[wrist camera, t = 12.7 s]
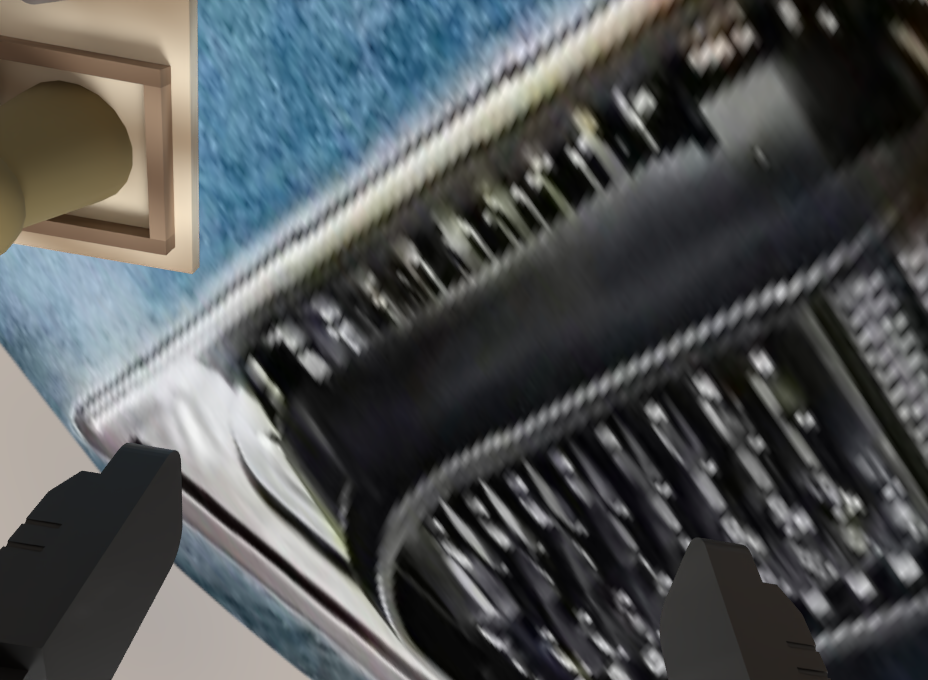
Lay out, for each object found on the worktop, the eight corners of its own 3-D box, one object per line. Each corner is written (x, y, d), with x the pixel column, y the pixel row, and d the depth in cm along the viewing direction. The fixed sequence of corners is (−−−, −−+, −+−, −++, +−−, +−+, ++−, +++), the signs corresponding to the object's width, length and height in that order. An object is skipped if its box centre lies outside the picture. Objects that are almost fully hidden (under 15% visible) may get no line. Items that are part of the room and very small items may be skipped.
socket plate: (-53, -107, 32) (-120, -113, 29) (196, -60, 33) (159, -60, 29) (-3, 232, 40) (-51, 260, 37) (199, 266, 40) (170, 297, 37)
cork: (123, 219, 38) (-5, 313, 29) (6, 177, 37) (-167, 259, 28) (142, 108, 35) (6, 170, 26) (15, 60, 35) (-174, 105, 25)
